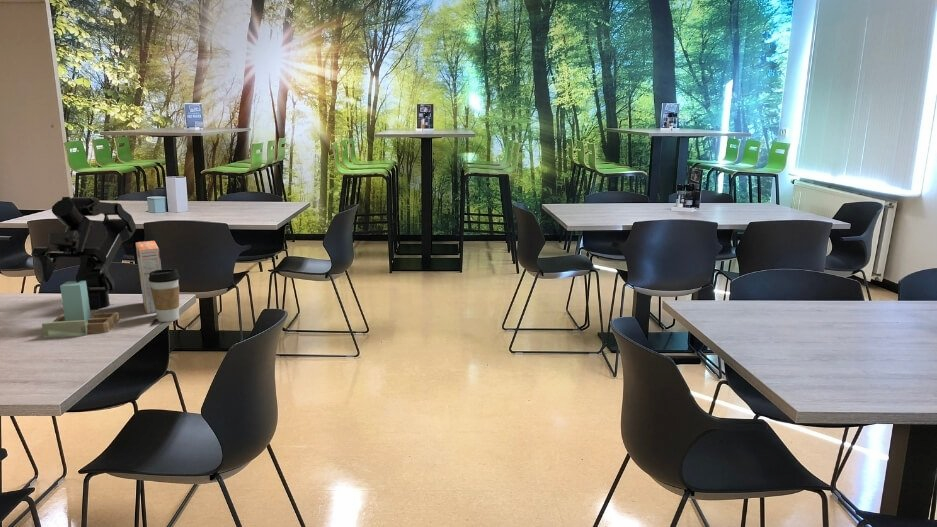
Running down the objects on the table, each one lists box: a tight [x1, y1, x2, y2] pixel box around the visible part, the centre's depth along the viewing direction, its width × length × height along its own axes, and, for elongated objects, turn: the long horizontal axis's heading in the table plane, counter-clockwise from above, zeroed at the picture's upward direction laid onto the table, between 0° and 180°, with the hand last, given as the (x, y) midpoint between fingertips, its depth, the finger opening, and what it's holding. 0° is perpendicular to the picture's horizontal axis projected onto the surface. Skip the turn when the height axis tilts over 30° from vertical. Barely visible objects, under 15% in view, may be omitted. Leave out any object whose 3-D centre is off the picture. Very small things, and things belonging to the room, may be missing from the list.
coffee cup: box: [149, 268, 180, 323], centre depth 194 cm, size 8×8×15 cm
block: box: [59, 280, 92, 324], centre depth 186 cm, size 5×5×12 cm
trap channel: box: [41, 311, 120, 339], centre depth 184 cm, size 14×15×5 cm
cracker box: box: [135, 240, 162, 314], centre depth 203 cm, size 14×6×21 cm, turn 30°
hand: (61, 281), depth 185 cm, fingers open, 9 cm apart
